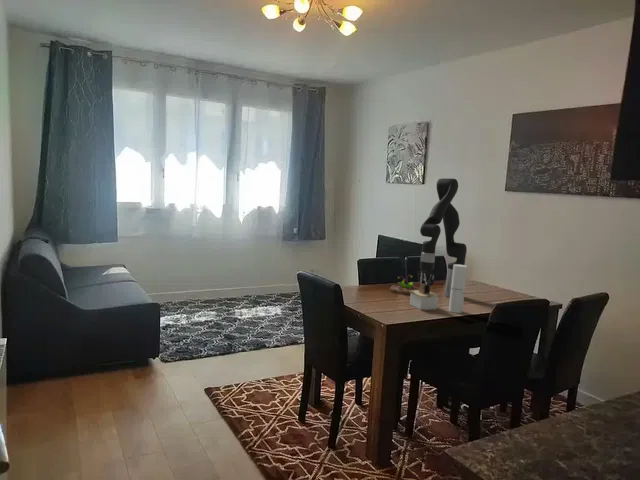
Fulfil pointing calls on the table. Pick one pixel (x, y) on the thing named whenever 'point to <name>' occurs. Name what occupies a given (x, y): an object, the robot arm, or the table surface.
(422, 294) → the oak lid
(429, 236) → the robot arm
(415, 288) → the plant
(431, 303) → the off-white box
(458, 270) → the cylindrical container
